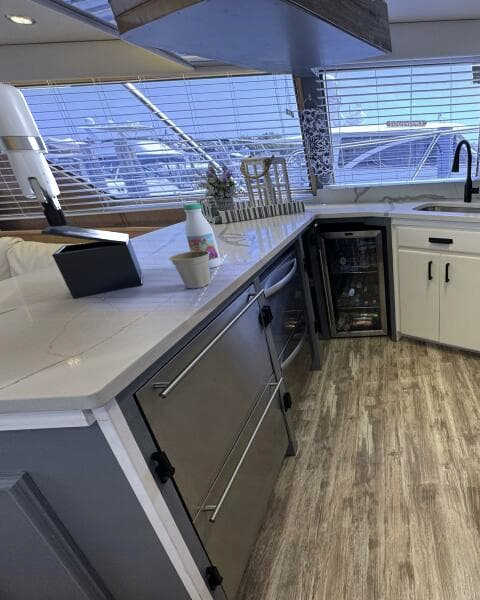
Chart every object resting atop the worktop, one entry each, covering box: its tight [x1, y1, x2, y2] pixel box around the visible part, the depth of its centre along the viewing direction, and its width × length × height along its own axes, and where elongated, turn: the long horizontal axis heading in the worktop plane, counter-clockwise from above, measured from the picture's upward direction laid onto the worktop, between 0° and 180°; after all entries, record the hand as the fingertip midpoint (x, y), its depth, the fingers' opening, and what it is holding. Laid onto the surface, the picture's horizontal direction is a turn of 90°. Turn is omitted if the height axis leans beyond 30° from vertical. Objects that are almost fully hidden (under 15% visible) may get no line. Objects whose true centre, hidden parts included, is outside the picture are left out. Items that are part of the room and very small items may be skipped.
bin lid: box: [40, 225, 129, 244], centre depth 86 cm, size 15×13×1 cm
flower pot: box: [168, 251, 212, 289], centre depth 87 cm, size 9×9×9 cm
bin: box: [51, 236, 144, 300], centre depth 89 cm, size 15×13×12 cm
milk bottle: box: [182, 202, 222, 269], centre depth 102 cm, size 8×8×20 cm
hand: (59, 225), depth 82 cm, fingers closed
